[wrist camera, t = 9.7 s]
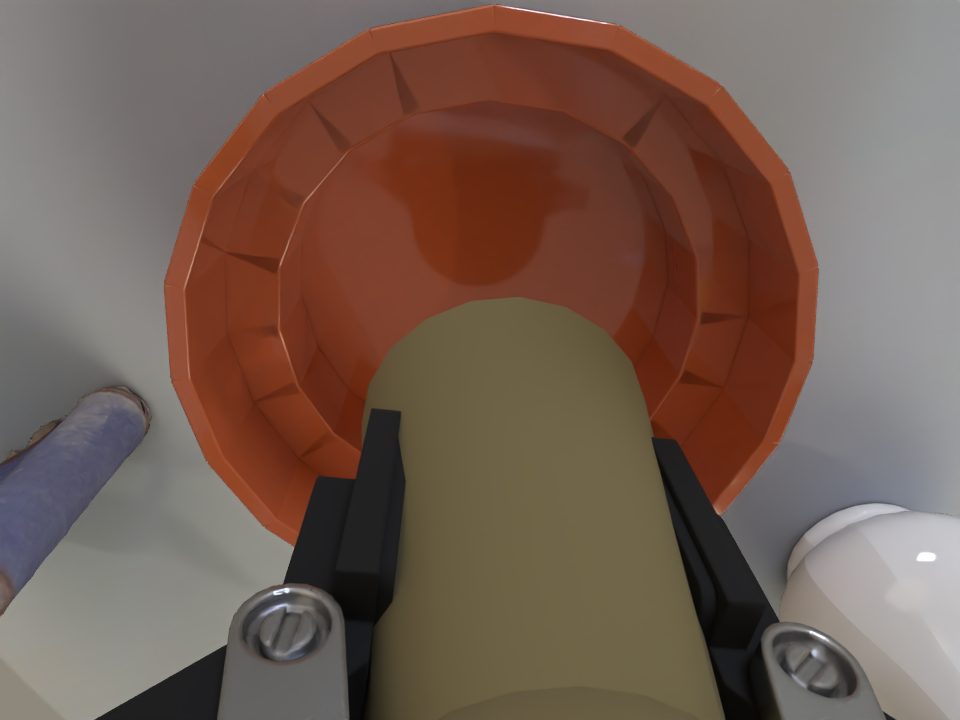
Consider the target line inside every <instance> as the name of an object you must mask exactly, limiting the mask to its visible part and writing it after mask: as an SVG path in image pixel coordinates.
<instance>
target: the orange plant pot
mask: <svg viewBox="0 0 960 720" xmlns="http://www.w3.org/2000/svg"><path fill="white" fill-rule="evenodd" d="M818 274H819V269H818V262H817V259H816V256H815V252H814V249H813V246H812V243H811V239H810V236H809V233H808V229H807V226H806V223H805V220H804V216H803V213H802V210H801V207H800V203H799V200H798V197H797V193H796V190H795V187H794V184H793V180H792V177H791V174H790V172H789V171H788V168H787V167H786V165H785V164H784V163H783V162H782V160H781V159H780V158H779V156H778V155H777V154H776V153H775V151H774V150H773V149H772V148H771V146H770V145H769V144H768V143H767V141H766V140H765V139H764V138H763V136H762V135H761V134H760V132H759V131H758V130H757V129H756V127H755V126H754V125H753V124H752V122H751V121H750V120H749V119H748V117H747V116H746V115H745V114H744V112H743V111H742V110H741V108H740V107H739V106H738V105H737V103H736V102H735V101H734V100H733V98H732V97H731V96H730V95H729V93H728V92H727V91H726V90H725V88H724V87H723V86H721V85H720V84H719V83H718V82H717V81H715V80H713V79H712V78H710V77H708V76H706V75H705V74H703V73H701V72H699V71H698V70H696V69H694V68H693V67H691V66H689V65H687V64H686V63H684V62H682V61H681V60H679V59H677V58H675V57H674V56H672V55H670V54H669V53H667V52H665V51H663V50H662V49H660V48H658V47H657V46H655V45H653V44H651V43H650V42H648V41H646V40H645V39H643V38H641V37H639V36H638V35H636V34H634V33H633V32H631V31H629V30H627V29H626V28H624V27H622V26H617V25H616V24H614V23H608V22H602V21H595V20H589V19H583V18H577V17H571V16H565V15H559V14H553V13H547V12H541V11H535V10H529V9H522V8H516V7H510V6H504V5H498V4H496V5H494V6H493V5H491V4H490V5H485V6H480V7H475V8H470V9H464V10H459V11H454V12H449V13H444V14H439V15H434V16H429V17H424V18H419V19H414V20H408V21H403V22H398V23H393V24H388V25H383V26H378V27H373V28H370V29H369V30H365V31H363V32H361V33H360V34H358V35H357V36H355V37H353V38H352V39H350V40H348V41H347V42H345V43H344V44H342V45H340V46H339V47H337V48H335V49H334V50H332V51H331V52H329V53H327V54H326V55H324V56H322V57H321V58H319V59H317V60H316V61H314V62H313V63H311V64H309V65H308V66H306V67H304V68H303V69H301V70H300V71H298V72H296V73H295V74H293V75H291V76H290V77H288V78H287V79H285V80H283V81H282V82H280V83H278V84H277V85H275V86H274V87H272V88H270V89H269V90H267V91H265V93H264V94H263V95H261V96H260V98H259V99H258V100H257V102H256V103H255V104H254V105H253V107H252V108H251V109H250V111H249V112H248V113H247V114H246V116H245V117H244V118H243V120H242V121H241V122H240V124H239V125H238V126H237V127H236V129H235V130H234V131H233V133H232V134H231V135H230V137H229V138H228V139H227V140H226V142H225V143H224V144H223V146H222V147H221V148H220V150H219V151H218V152H217V153H216V155H215V156H214V157H213V159H212V160H211V161H210V162H209V164H208V165H207V166H206V168H205V169H204V170H203V172H202V173H201V174H200V175H199V177H198V178H197V179H196V181H195V184H194V185H193V186H192V190H191V193H190V196H189V200H188V203H187V207H186V210H185V213H184V217H183V220H182V223H181V227H180V230H179V233H178V237H177V240H176V244H175V247H174V250H173V254H172V257H171V260H170V264H169V267H168V270H167V274H166V277H165V281H164V283H165V284H164V294H165V308H166V322H167V335H168V349H169V363H170V377H171V379H172V384H173V386H174V389H175V391H176V393H177V395H178V398H179V400H180V402H181V404H182V407H183V409H184V411H185V414H186V416H187V418H188V420H189V423H190V425H191V427H192V430H193V432H194V434H195V436H196V439H197V441H198V443H199V446H200V448H201V450H202V452H203V455H204V457H205V459H206V461H207V462H208V464H209V465H210V467H211V468H212V469H213V470H214V471H215V472H216V473H217V475H218V476H219V477H220V478H221V479H222V480H223V481H224V482H225V484H226V485H227V486H228V487H229V488H230V489H231V490H232V492H233V493H234V494H235V495H236V496H237V497H238V498H239V500H240V501H241V502H242V503H243V504H244V505H245V506H246V507H247V509H248V510H249V511H250V512H251V513H252V514H253V515H254V517H255V518H256V519H257V520H258V521H259V522H260V523H261V524H262V526H264V527H265V528H266V529H267V530H269V531H270V532H272V533H274V534H275V535H277V536H278V537H280V538H281V539H283V540H284V541H286V542H288V543H289V544H291V545H292V546H294V547H295V544H296V541H297V538H298V535H299V532H300V528H301V525H302V522H303V519H304V516H305V512H306V509H307V506H308V503H309V500H310V496H311V493H312V490H313V487H314V484H315V481H316V478H317V477H318V476H327V477H338V478H348V479H356V474H357V470H358V465H359V461H360V456H361V452H362V418H363V413H364V408H365V402H366V397H367V392H368V386H369V383H370V381H371V380H372V378H373V376H374V375H375V373H376V372H377V370H378V368H379V367H380V365H381V363H382V362H383V360H384V358H385V357H386V355H387V353H388V352H389V350H390V349H391V347H393V346H394V345H395V344H396V343H397V342H399V341H400V340H401V339H402V338H403V337H405V336H406V335H407V334H408V333H410V332H411V331H412V330H413V329H414V328H416V327H417V326H418V325H419V324H420V323H422V322H423V321H424V320H425V319H427V318H430V317H432V316H435V315H437V314H440V313H442V312H445V311H447V310H450V309H452V308H455V307H457V306H460V305H462V304H465V303H467V302H470V301H477V300H489V299H501V298H513V297H522V298H527V299H531V300H536V301H540V302H545V303H550V304H554V305H559V306H564V307H567V308H569V309H570V310H572V311H574V312H575V313H577V314H579V315H581V316H582V317H584V318H586V319H587V320H589V321H591V322H593V323H594V324H596V325H598V326H599V327H601V328H603V329H605V330H606V332H607V333H608V334H609V335H610V336H611V338H612V339H613V340H614V341H615V342H616V344H617V345H618V346H619V347H620V348H621V349H622V351H623V352H624V353H625V354H626V355H627V357H628V358H629V359H630V360H631V361H632V364H633V367H634V370H635V373H636V376H637V379H638V381H639V384H640V387H641V390H642V393H643V396H644V399H645V403H646V407H647V411H648V415H649V419H650V423H651V427H652V431H653V435H654V437H656V438H666V439H674V440H676V441H677V442H678V444H679V446H680V448H681V449H682V451H683V453H684V455H685V457H686V459H687V460H688V462H689V464H690V466H691V468H692V469H693V471H694V473H695V475H696V477H697V479H698V480H699V482H700V484H701V486H702V488H703V489H704V491H705V493H706V495H707V497H708V498H709V500H710V502H711V504H712V506H713V508H714V509H715V511H716V513H717V514H718V515H721V514H722V513H724V511H725V510H727V508H728V507H729V506H730V505H731V504H732V502H733V501H734V500H735V499H736V497H737V496H738V495H739V494H740V492H741V491H742V490H743V489H744V487H745V486H746V485H747V484H748V482H749V481H750V480H751V479H752V478H753V476H754V475H755V474H756V473H757V471H758V470H759V469H760V468H761V466H762V465H763V464H764V463H765V461H766V460H767V459H768V458H769V456H770V455H771V454H772V453H773V451H774V450H775V449H776V448H777V447H778V445H779V444H778V443H780V442H781V439H782V437H783V434H784V432H785V429H786V427H787V424H788V422H789V419H790V417H791V414H792V412H793V410H794V407H795V405H796V402H797V400H798V397H799V395H800V392H801V390H802V387H803V385H804V383H805V380H806V378H807V375H808V373H809V370H810V368H811V365H812V360H813V357H814V340H815V324H816V307H817V291H818Z"/></svg>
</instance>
